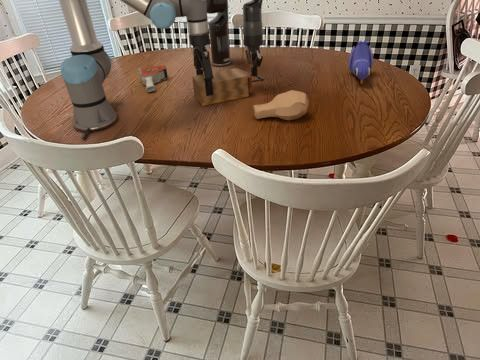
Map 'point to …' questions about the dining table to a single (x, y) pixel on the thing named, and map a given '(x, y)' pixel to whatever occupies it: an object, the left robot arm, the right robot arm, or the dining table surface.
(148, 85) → the tape dispenser
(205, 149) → the dining table surface
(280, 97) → the squash
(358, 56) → the toy
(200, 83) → the brown wooden block
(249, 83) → the drawer
